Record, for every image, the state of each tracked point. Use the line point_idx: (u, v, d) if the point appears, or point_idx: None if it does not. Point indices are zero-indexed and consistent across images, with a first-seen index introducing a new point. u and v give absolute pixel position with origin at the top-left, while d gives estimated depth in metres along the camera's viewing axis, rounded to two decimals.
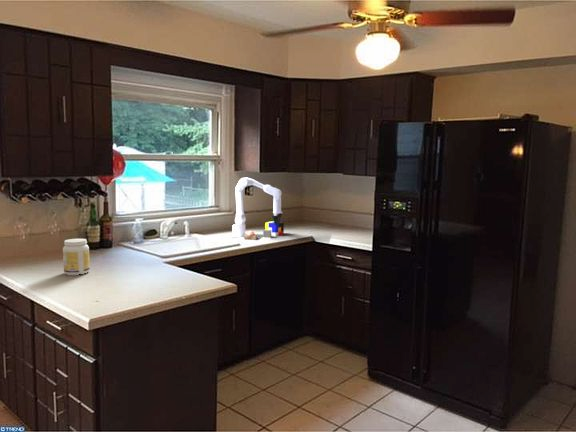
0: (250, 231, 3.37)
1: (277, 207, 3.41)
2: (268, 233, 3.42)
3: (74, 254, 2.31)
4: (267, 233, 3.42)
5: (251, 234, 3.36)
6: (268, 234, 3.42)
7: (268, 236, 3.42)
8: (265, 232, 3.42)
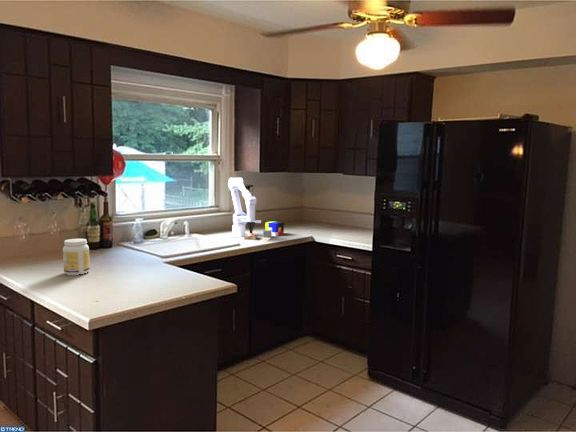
0: (250, 233, 3.37)
1: (247, 215, 3.36)
2: (268, 233, 3.42)
3: (74, 254, 2.31)
4: (267, 233, 3.42)
5: None
6: (268, 234, 3.42)
7: (268, 236, 3.42)
8: (265, 232, 3.42)
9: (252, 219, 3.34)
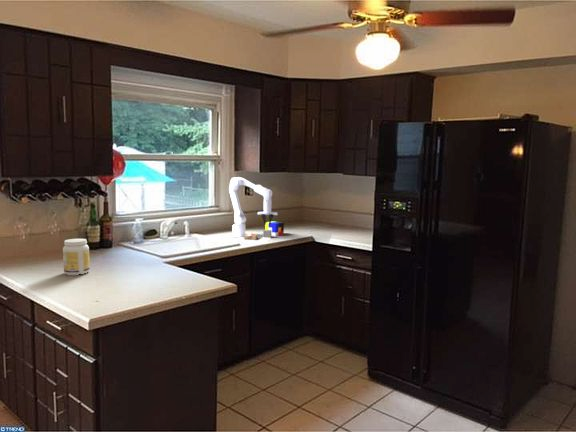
0: (250, 233, 3.37)
1: None
2: (268, 233, 3.42)
3: (74, 254, 2.31)
4: (267, 233, 3.42)
5: None
6: (268, 234, 3.42)
7: (268, 236, 3.42)
8: (265, 232, 3.42)
9: (269, 211, 3.40)
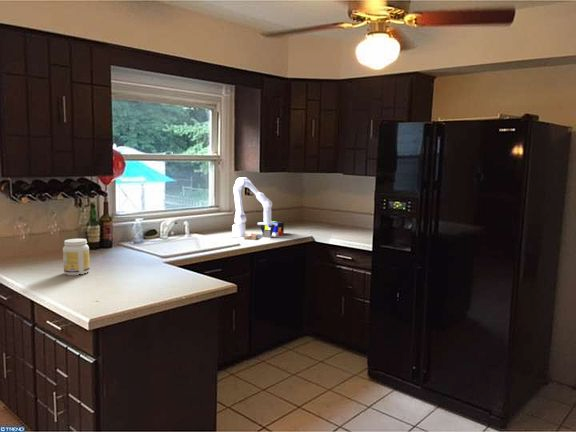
0: (250, 233, 3.37)
1: None
2: (268, 233, 3.42)
3: (74, 254, 2.31)
4: (267, 233, 3.42)
5: None
6: (268, 234, 3.42)
7: (268, 236, 3.42)
8: (265, 232, 3.42)
9: (269, 222, 3.41)
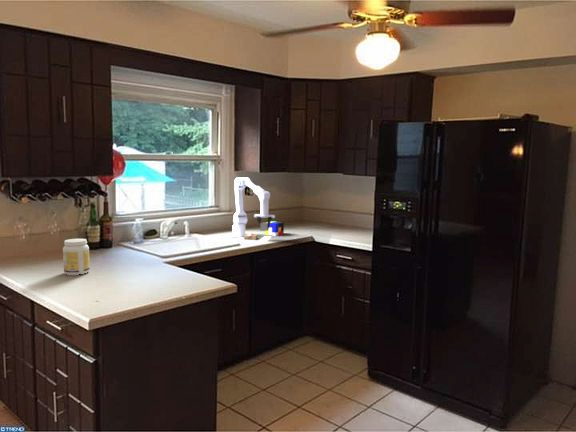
0: (250, 233, 3.37)
1: (260, 209, 3.30)
2: (265, 226, 3.29)
3: (74, 254, 2.31)
4: (265, 226, 3.29)
5: None
6: (265, 226, 3.29)
7: (265, 229, 3.30)
8: (262, 225, 3.30)
9: (266, 214, 3.28)
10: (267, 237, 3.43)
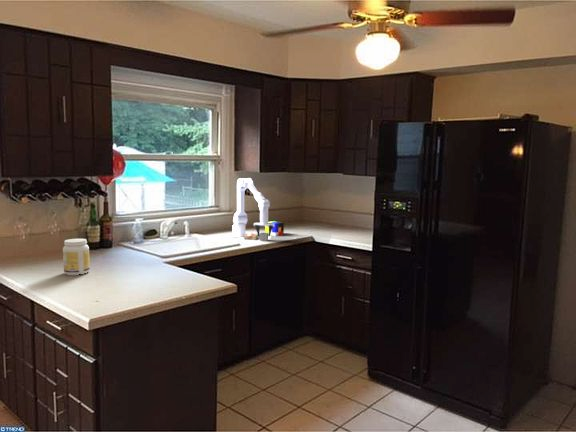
0: (250, 233, 3.37)
1: (260, 218, 3.30)
2: (265, 236, 3.29)
3: (74, 254, 2.31)
4: (264, 236, 3.29)
5: None
6: (265, 237, 3.29)
7: (265, 239, 3.30)
8: (262, 235, 3.30)
9: (265, 222, 3.28)
10: None
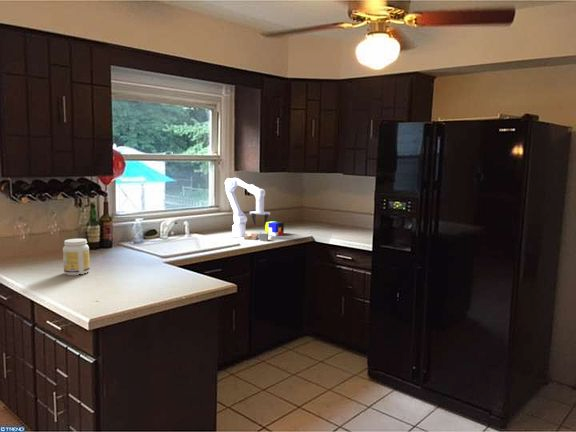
0: (250, 233, 3.37)
1: (256, 207, 3.39)
2: (265, 236, 3.29)
3: (74, 254, 2.31)
4: (264, 236, 3.29)
5: None
6: (265, 237, 3.29)
7: (265, 239, 3.30)
8: (262, 235, 3.30)
9: (261, 211, 3.38)
10: None
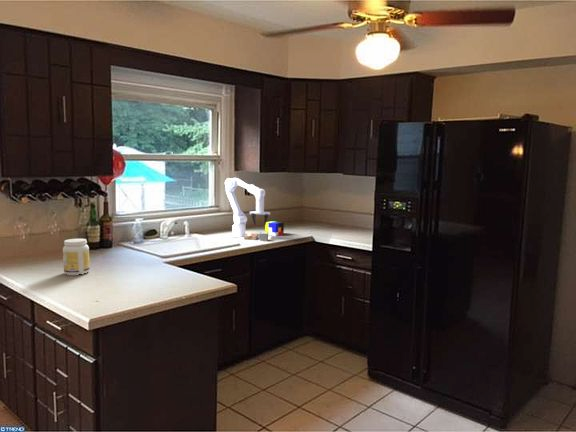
0: (250, 233, 3.37)
1: (256, 207, 3.39)
2: (265, 236, 3.29)
3: (74, 254, 2.31)
4: (264, 236, 3.29)
5: None
6: (265, 237, 3.29)
7: (265, 239, 3.30)
8: (262, 235, 3.30)
9: (261, 211, 3.38)
10: None
